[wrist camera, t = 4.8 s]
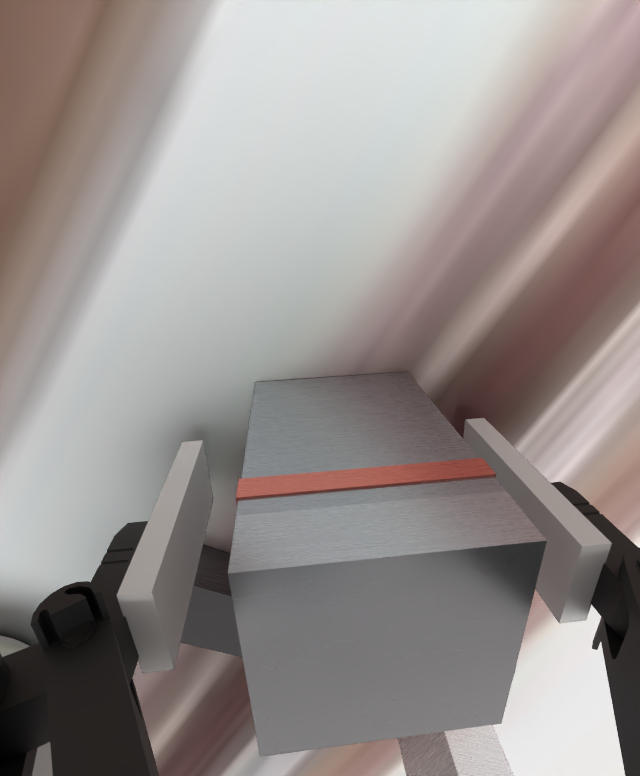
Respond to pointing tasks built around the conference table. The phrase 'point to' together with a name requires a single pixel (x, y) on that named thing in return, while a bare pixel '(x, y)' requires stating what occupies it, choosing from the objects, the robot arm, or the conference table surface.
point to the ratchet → (419, 752)
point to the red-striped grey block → (373, 567)
